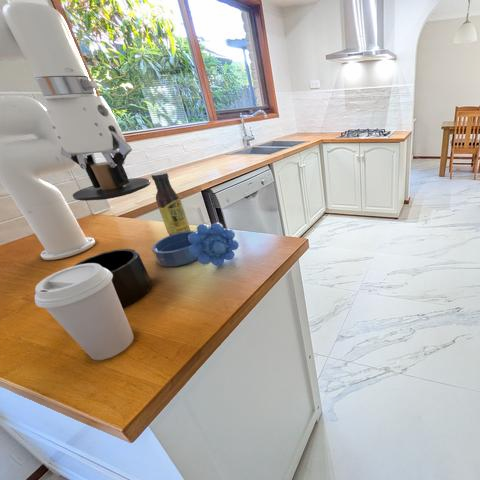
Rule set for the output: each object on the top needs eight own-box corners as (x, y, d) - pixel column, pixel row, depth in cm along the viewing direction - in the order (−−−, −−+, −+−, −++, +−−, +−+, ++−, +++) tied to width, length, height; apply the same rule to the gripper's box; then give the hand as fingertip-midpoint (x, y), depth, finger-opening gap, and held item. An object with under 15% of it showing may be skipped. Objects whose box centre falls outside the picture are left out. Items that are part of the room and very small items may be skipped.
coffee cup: (70, 353, 51) (19, 284, 44) (130, 319, 58) (94, 255, 51) (90, 377, 46) (36, 304, 39) (153, 337, 53) (117, 269, 46)
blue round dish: (147, 264, 77) (140, 249, 75) (185, 242, 88) (180, 229, 86) (182, 270, 73) (176, 255, 71) (218, 247, 84) (213, 233, 81)
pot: (71, 308, 62) (50, 275, 58) (128, 275, 73) (112, 246, 69) (110, 319, 58) (90, 285, 54) (164, 283, 69) (150, 252, 65)
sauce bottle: (182, 240, 89) (158, 177, 80) (165, 239, 90) (139, 177, 81) (196, 231, 95) (175, 170, 86) (180, 230, 96) (157, 171, 87)
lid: (60, 201, 59) (43, 171, 56) (125, 181, 70) (114, 156, 68) (103, 205, 55) (87, 173, 52) (165, 184, 66) (155, 156, 63)
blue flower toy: (204, 281, 68) (187, 236, 63) (193, 271, 72) (177, 228, 67) (249, 261, 75) (237, 218, 70) (237, 252, 80) (225, 212, 74)
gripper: (126, 86, 56) (160, 178, 65) (44, 92, 57) (89, 182, 66) (96, 86, 50) (139, 188, 58) (3, 93, 50) (59, 193, 59)
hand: (112, 184), depth 62 cm, fingers closed on lid, 4 cm apart
